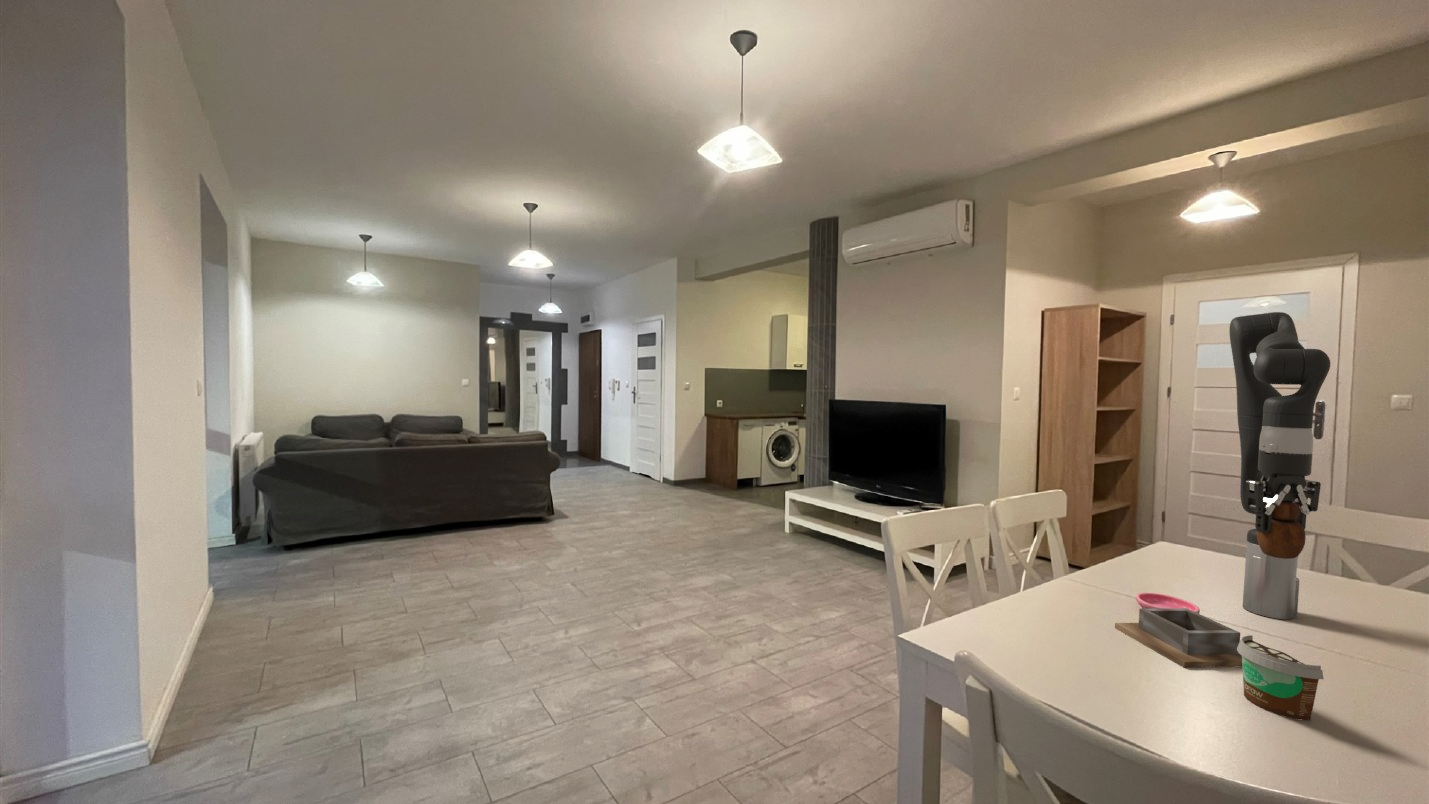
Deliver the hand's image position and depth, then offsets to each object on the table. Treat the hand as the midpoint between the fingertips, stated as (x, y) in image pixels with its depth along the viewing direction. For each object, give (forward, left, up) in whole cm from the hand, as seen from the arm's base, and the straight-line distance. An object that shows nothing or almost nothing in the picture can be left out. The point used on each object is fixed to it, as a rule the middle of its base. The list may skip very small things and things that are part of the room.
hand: (1279, 532), depth 114 cm
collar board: (+9, -9, -28) cm, 31 cm away
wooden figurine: (0, 0, -5) cm, 5 cm away
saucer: (-2, -26, -28) cm, 39 cm away
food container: (+15, +13, -28) cm, 34 cm away
